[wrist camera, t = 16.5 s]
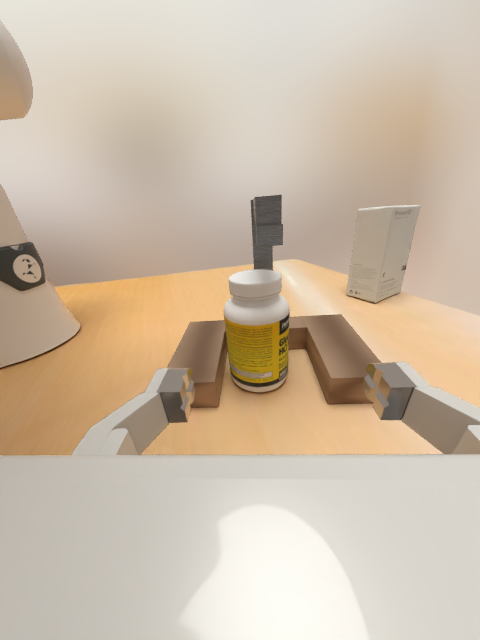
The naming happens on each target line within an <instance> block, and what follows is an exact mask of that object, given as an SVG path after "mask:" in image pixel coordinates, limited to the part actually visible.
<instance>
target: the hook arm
mask: <svg viewBox="0 0 480 640" xmlns="http://www.w3.org/2000/svg"><path fill="white" fill-rule="evenodd" d="M251 214H252V235H253V257H254V270H256V269H263V270H272V271H273V261H272V246H274V245H283V244H282V243H283V241H282V240H283V224H281V195H274V196H263V197H255V198H254V199H253V200H251Z"/></svg>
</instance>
